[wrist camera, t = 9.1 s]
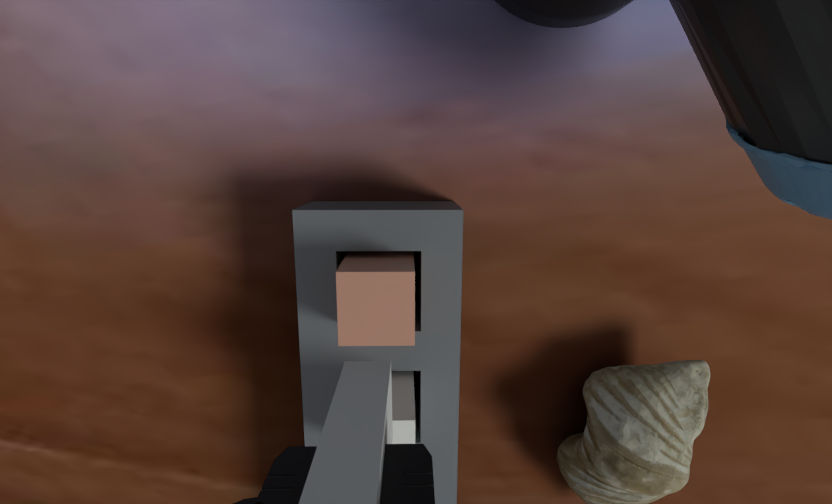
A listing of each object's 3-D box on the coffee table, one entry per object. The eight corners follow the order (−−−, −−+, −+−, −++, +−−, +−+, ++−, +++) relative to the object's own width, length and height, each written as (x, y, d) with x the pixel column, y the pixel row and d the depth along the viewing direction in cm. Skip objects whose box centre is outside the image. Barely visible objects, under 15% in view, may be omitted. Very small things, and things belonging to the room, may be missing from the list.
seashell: (664, 558, 36) (673, 575, 28) (549, 498, 41) (528, 499, 33) (706, 387, 40) (725, 358, 32) (597, 351, 45) (589, 318, 37)
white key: (350, 367, 33) (336, 421, 27) (413, 366, 34) (415, 420, 27) (352, 423, 34) (338, 490, 28) (413, 423, 35) (415, 489, 28)
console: (310, 201, 35) (292, 210, 29) (453, 201, 35) (463, 209, 30) (325, 514, 41) (311, 574, 35) (447, 512, 41) (455, 572, 35)
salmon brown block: (350, 248, 33) (335, 271, 27) (412, 248, 34) (414, 271, 27) (351, 308, 34) (338, 346, 28) (412, 307, 34) (414, 345, 28)
